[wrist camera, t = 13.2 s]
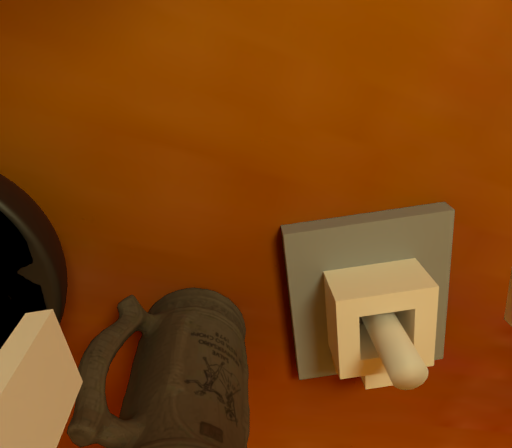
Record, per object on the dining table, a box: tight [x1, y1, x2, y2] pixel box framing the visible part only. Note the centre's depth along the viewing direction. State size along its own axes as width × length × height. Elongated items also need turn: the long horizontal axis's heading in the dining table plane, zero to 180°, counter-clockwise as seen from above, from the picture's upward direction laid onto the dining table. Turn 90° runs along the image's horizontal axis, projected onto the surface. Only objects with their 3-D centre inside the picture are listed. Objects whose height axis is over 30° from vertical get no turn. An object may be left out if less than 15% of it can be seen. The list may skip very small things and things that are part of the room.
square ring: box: [323, 258, 439, 389], centre depth 41 cm, size 13×9×5 cm
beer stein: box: [67, 288, 249, 448], centre depth 36 cm, size 15×11×20 cm
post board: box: [281, 202, 455, 390], centre depth 39 cm, size 18×16×12 cm
